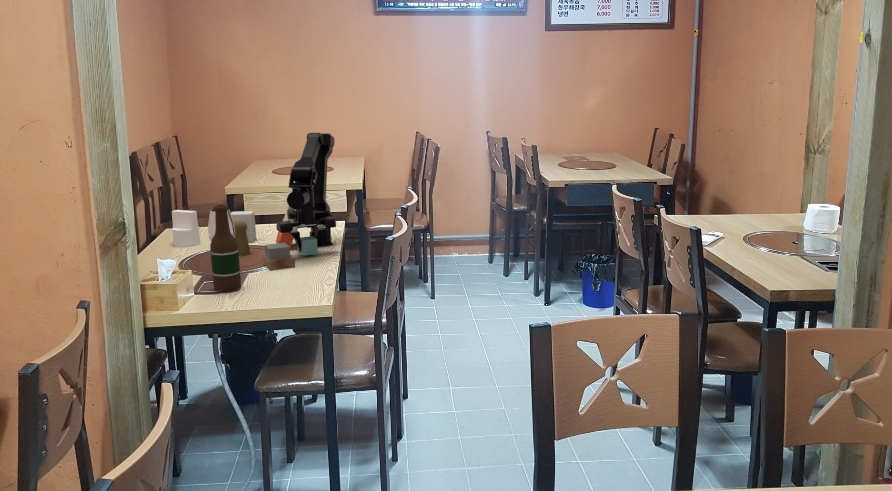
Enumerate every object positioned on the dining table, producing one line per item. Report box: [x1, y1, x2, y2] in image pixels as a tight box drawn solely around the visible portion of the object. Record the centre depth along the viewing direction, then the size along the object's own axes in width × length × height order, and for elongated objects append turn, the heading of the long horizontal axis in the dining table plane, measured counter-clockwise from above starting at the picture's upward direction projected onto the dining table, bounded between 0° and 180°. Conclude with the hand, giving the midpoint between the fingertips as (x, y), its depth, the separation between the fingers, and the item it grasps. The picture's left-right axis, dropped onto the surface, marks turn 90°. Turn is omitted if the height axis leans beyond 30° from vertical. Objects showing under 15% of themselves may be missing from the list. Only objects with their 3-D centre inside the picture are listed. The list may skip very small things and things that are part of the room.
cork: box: [234, 221, 251, 257], centre depth 257 cm, size 6×6×11 cm
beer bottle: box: [209, 204, 242, 292], centre depth 217 cm, size 8×8×24 cm
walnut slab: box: [262, 253, 296, 271], centre depth 242 cm, size 8×8×4 cm
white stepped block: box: [171, 209, 201, 248], centre depth 272 cm, size 9×9×12 cm
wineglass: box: [207, 208, 235, 242], centre depth 231 cm, size 8×8×20 cm
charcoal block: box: [264, 242, 291, 260], centre depth 241 cm, size 6×6×4 cm
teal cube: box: [297, 235, 318, 256], centre depth 254 cm, size 5×5×5 cm
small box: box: [230, 210, 257, 243], centre depth 276 cm, size 8×6×10 cm
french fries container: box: [275, 206, 298, 248], centre depth 265 cm, size 5×11×18 cm, turn 17°
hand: (307, 250), depth 254 cm, fingers closed on teal cube, 5 cm apart
